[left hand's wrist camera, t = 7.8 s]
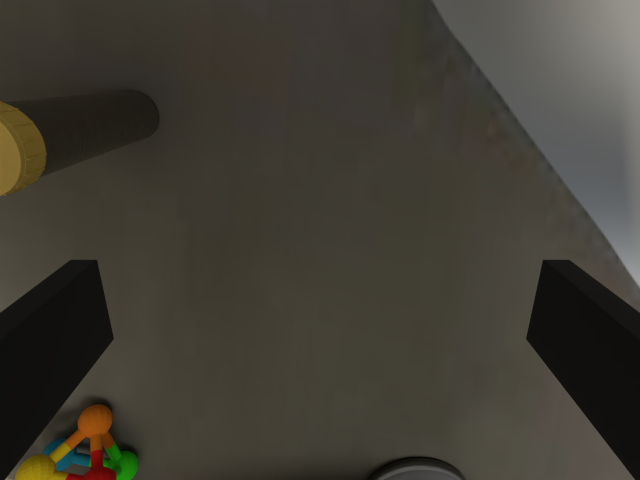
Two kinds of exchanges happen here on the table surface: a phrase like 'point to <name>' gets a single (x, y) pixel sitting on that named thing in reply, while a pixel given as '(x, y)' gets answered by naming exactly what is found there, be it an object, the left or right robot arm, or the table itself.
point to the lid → (19, 150)
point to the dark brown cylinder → (89, 124)
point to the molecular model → (105, 475)
